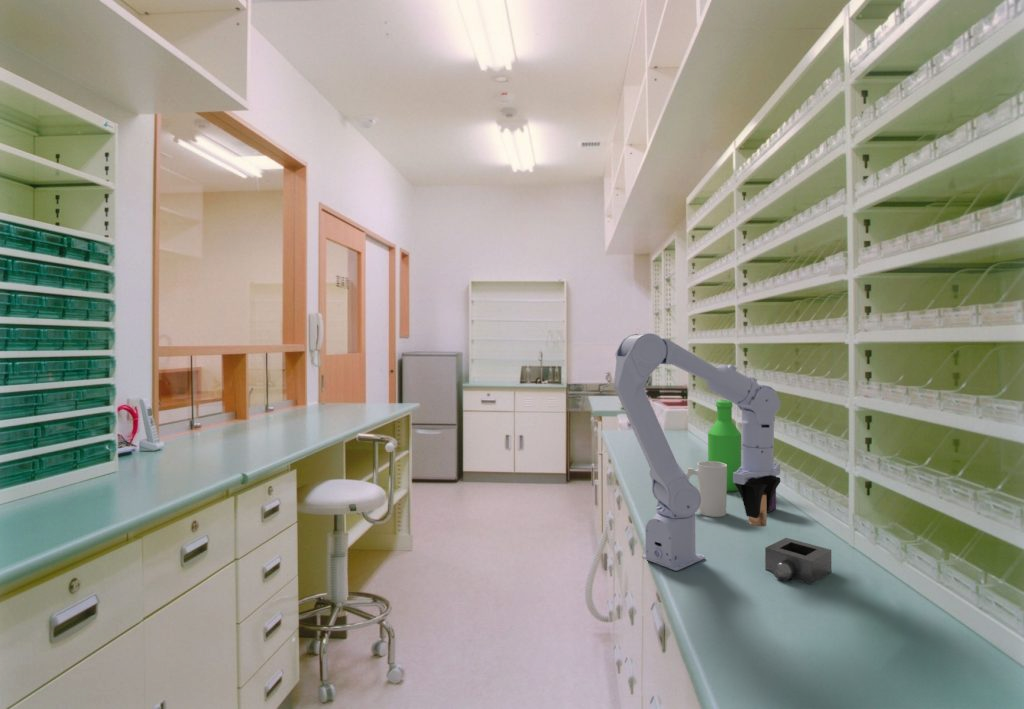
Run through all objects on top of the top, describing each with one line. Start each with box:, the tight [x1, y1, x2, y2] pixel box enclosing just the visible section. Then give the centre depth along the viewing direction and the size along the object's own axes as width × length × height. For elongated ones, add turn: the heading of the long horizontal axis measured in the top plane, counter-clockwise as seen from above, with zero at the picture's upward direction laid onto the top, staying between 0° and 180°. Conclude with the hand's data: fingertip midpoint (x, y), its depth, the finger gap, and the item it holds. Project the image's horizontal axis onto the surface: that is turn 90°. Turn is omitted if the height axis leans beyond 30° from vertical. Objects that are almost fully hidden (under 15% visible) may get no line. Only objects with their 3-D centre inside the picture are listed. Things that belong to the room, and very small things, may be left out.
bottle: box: [707, 399, 742, 493], centre depth 152 cm, size 9×9×25 cm
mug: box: [685, 460, 728, 518], centre depth 131 cm, size 10×7×12 cm, turn 78°
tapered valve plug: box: [748, 492, 768, 527], centre depth 105 cm, size 3×3×6 cm
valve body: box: [764, 537, 832, 585], centre depth 97 cm, size 13×8×4 cm, turn 128°
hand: (757, 514), depth 105 cm, fingers closed on tapered valve plug, 3 cm apart
